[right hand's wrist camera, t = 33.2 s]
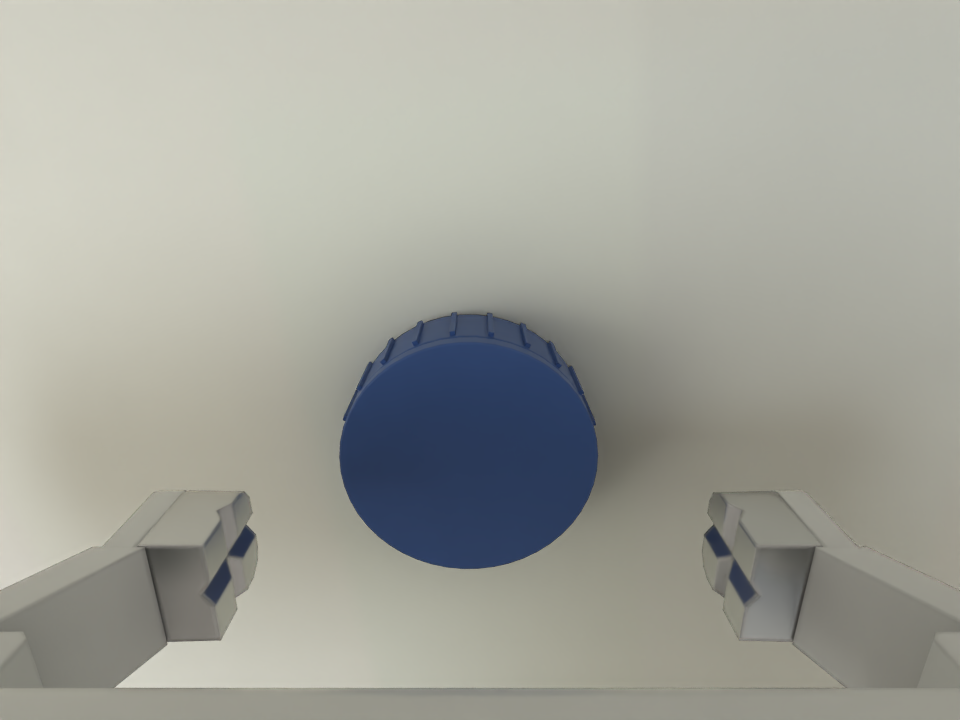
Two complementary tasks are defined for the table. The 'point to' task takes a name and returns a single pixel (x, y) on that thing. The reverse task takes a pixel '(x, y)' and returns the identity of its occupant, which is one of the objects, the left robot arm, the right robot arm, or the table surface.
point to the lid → (468, 443)
